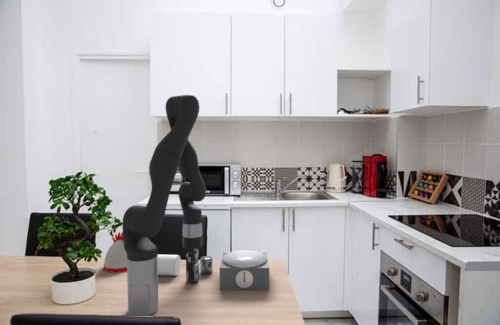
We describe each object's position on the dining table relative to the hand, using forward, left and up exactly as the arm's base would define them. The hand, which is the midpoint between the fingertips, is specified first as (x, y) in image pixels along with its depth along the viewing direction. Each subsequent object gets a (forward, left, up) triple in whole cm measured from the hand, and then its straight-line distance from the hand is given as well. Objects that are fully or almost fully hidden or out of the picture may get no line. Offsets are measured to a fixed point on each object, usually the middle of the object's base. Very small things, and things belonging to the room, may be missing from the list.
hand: (192, 277), depth 126 cm
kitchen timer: (+16, +34, -2) cm, 38 cm away
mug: (+9, +12, -2) cm, 15 cm away
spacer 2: (+9, -4, -1) cm, 10 cm away
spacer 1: (0, 0, -1) cm, 1 cm away
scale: (+1, -20, -1) cm, 20 cm away
